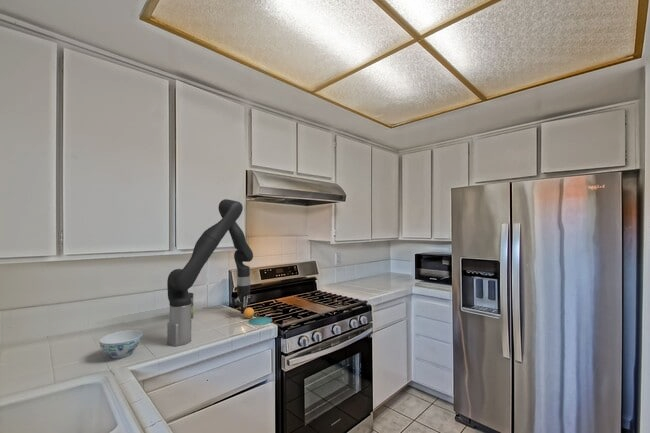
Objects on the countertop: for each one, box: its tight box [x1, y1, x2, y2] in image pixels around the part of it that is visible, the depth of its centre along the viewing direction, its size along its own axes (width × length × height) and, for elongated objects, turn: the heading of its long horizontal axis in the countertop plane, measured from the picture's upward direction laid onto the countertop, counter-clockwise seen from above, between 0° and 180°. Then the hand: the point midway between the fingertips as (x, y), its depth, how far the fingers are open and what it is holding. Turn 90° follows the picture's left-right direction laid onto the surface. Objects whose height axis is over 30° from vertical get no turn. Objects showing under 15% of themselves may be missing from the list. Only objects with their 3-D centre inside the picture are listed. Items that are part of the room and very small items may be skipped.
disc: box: [248, 316, 273, 326], centre depth 173 cm, size 13×13×1 cm
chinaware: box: [98, 329, 143, 359], centre depth 129 cm, size 15×15×8 cm
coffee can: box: [188, 292, 195, 320], centre depth 176 cm, size 10×10×14 cm
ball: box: [243, 307, 255, 319], centre depth 178 cm, size 6×6×6 cm
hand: (243, 313), depth 180 cm, fingers closed
